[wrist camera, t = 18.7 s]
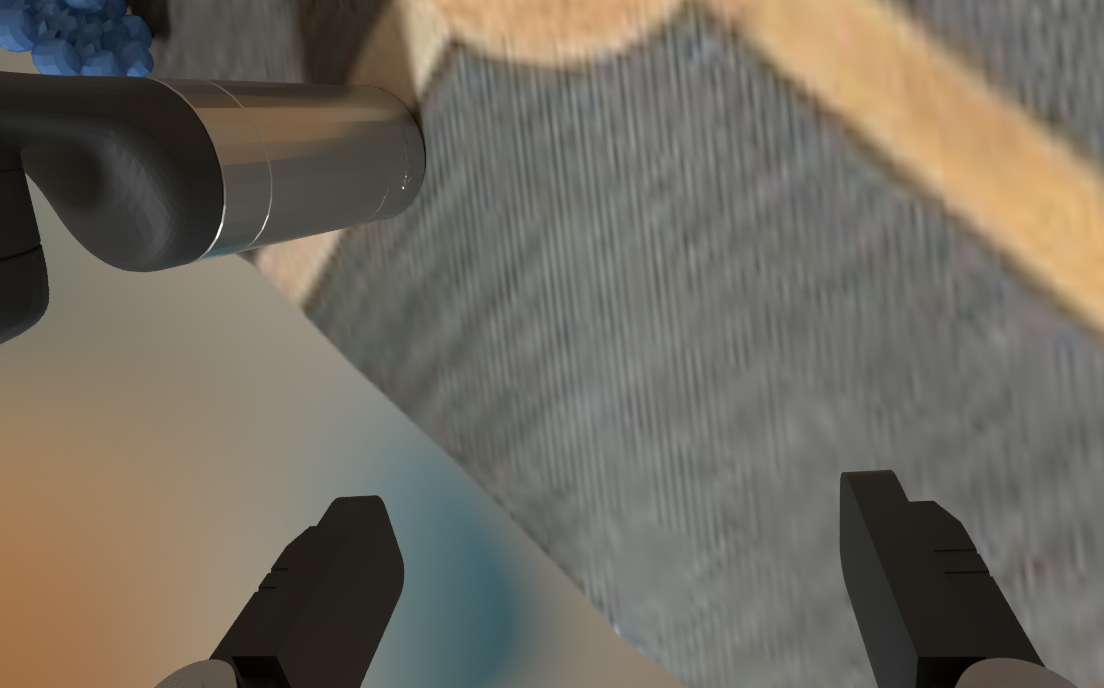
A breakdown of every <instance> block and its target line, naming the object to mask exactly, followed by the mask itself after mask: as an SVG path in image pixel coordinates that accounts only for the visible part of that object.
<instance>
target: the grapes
mask: <svg viewBox="0 0 1104 688" xmlns="http://www.w3.org/2000/svg"><path fill="white" fill-rule="evenodd" d="M126 13H127V9H126V4H125V1H124V0H0V46H1V47H3V48H4V49H6V50H9V51H12V52H26V51H30V50H32V52H31V56H32V60H33V64H34V65H35V67H36V68H37V69H38V71H39V72H40V73H41V74H47V75H67V76H78V75H79V74H80V72H82V75H83V76H130V77H145V76H147V75H148V74H150V73H151V71H152V69H153V66H154V63H153V58H152V55H151V54H150V52H149V50H148V48H150V46H151V43H152V41H153V38H152V33H151V30H150V28H149V27H148V25H147V24H146V22H145V21H144V20H143V19H142V18H141V17H140V16H135V15H126Z"/></svg>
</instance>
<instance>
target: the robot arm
mask: <svg viewBox="0 0 1104 688" xmlns="http://www.w3.org/2000/svg"><path fill="white" fill-rule="evenodd" d="M424 170H425V153H424V147H423V141H422V138H421V135H420V132H419V129H418V126H417V124H416V123H415V121H414V119H413V117H412V115H411V114H410V112H409V111H408V110H407V109H406V107H405V106H404V105H403V104H402V103H401V102H400V101H399V100H398V99H396V98H395V97H394V96H393V95H392V94H390V93H388V92H386V91H384V90H381V89H379V88H374V87H369V86H347V85H329V84H305V83H281V82H256V81H232V80H208V79H177V78H153V77H130V76H67V75H47V74H27V73H15V72H3V71H0V344H2V343H4V342H6V341H8V340H10V339H12V338H14V337H16V336H18V335H20V334H21V333H23V332H24V331H26V330H28V329H29V328H30V327H32V326H33V325H35V324H36V323H37V322H38V321H39V320H40V319H41V317H42V316H43V315H44V313H45V311H46V309H47V306H48V303H49V286H48V275H47V268H46V263H45V258H44V254H43V249H42V245H41V244H40V241H41V239H40V235H39V231H38V226H37V223H36V218H35V214H34V210H33V206H32V201H31V197H30V193H29V189H28V185H27V180H26V176H25V173H26V174H27V175H28V176H29V177H30V178H31V179H32V180H33V182H34V183H35V184H36V185H37V186H38V188H39V189H40V190H41V191H42V193H43V194H44V196H45V197H46V199H47V200H48V201H49V203H50V205H51V206H52V207H53V209H54V210H55V212H56V213H57V215H58V216H59V218H60V219H61V221H62V222H63V224H64V225H65V226H66V227H67V229H68V230H69V231H70V232H71V234H72V235H73V236H74V237H75V238H76V239H77V240H78V242H79V243H80V244H81V245H83V246H84V247H85V248H86V249H87V250H88V251H89V252H90V253H92V254H93V255H94V256H96V257H97V258H99V259H100V260H102V261H104V262H105V263H107V264H109V265H111V266H113V267H116V268H119V269H122V270H126V271H134V272H135V271H136V272H151V271H158V270H163V269H168V268H172V267H176V266H180V265H185V264H190V263H194V262H198V261H203V260H207V259H211V258H216V257H221V256H225V255H229V254H233V253H237V252H241V251H246V250H250V249H255V248H259V247H264V246H268V245H272V244H277V243H281V242H286V241H290V240H294V239H299V238H303V237H308V236H312V235H317V234H321V233H325V232H330V231H334V230H339V229H343V228H347V227H353V226H357V225H361V224H366V223H370V222H374V221H378V220H383V219H387V218H391V217H394V216H396V215H398V214H400V213H402V212H403V211H404V210H405V209H406V208H407V207H408V206H409V205H411V203H412V202H413V200H414V199H415V197H416V196H417V194H418V192H419V189H420V187H421V184H422V180H423V175H424ZM840 556H841V565H842V571H843V576H844V580H845V584H846V588H847V591H848V594H849V597H850V600H851V604H852V607H853V610H854V613H855V616H856V619H857V622H858V626H859V629H860V632H861V635H862V638H863V641H864V645H865V648H866V651H867V654H868V657H869V660H870V663H871V667H872V670H873V673H874V676H875V679H876V682H877V685H878V688H1077V687H1076V686H1075V685H1074V684H1072V683H1071V682H1070V681H1068V680H1067V679H1065V678H1064V677H1062V676H1060V675H1059V674H1057V673H1055V672H1053V671H1051V670H1049V669H1047V668H1046V667H1045V666H1044V664H1043V663H1042V661H1041V660H1040V658H1039V656H1038V654H1037V653H1036V651H1035V649H1034V647H1033V646H1032V644H1031V642H1030V641H1029V639H1028V637H1027V635H1026V634H1025V632H1024V630H1023V628H1022V627H1021V625H1020V623H1019V622H1018V620H1017V618H1016V616H1015V615H1014V613H1013V611H1012V609H1011V608H1010V606H1009V604H1008V603H1007V601H1006V599H1005V597H1004V596H1003V594H1002V592H1001V590H1000V589H999V587H998V585H997V584H996V582H995V580H994V578H993V577H990V574H989V570H988V568H987V566H986V565H985V563H984V561H983V559H982V558H981V556H980V554H977V550H976V547H975V545H974V544H973V542H972V540H971V539H970V537H969V535H968V533H967V532H966V530H965V528H964V526H963V525H962V523H961V522H960V521H959V520H957V519H956V518H955V517H954V516H952V515H951V514H950V513H948V512H947V511H946V510H945V509H943V508H942V507H941V506H940V505H938V504H937V503H936V502H935V501H916V502H909V501H908V499H907V497H906V495H905V493H904V491H903V489H902V487H901V485H900V483H899V481H898V479H897V477H896V475H895V473H894V472H893V471H892V470H880V471H860V472H843V473H842V474H841V478H840ZM403 583H404V563H403V559H402V555H401V552H400V550H399V546H398V544H397V540H396V537H395V535H394V532H393V528H392V525H391V522H390V519H389V516H388V513H387V510H386V508H385V505H384V502H383V501H382V499H381V498H380V497H378V496H376V495H375V496H355V497H339V498H336V499H335V500H334V501H333V502H332V503H331V505H330V506H329V508H328V509H327V511H326V512H325V514H324V516H323V517H322V518H321V520H320V521H319V523H318V525H317V526H310V527H309V528H308V529H306V530H305V531H304V532H303V533H302V534H300V535H299V536H298V537H297V538H296V539H294V541H292V542H291V543H290V544H289V545H287V546H286V548H285V549H284V551H283V552H282V554H281V555H280V556H279V558H278V559H277V561H276V563H275V564H274V565H273V567H272V568H271V573H268V574H267V575H266V577H265V578H264V580H263V581H262V583H261V584H260V585H259V590H258V592H255V593H254V594H253V596H252V597H251V599H250V600H249V602H248V603H247V604H246V606H245V607H244V609H243V610H242V612H241V613H240V615H239V616H238V617H237V619H236V620H235V622H234V623H233V625H232V626H231V628H230V629H229V630H228V632H227V633H226V635H225V636H224V638H223V639H222V641H221V642H220V644H219V645H218V647H217V648H216V649H215V651H214V652H213V654H212V655H211V657H210V658H209V660H203V661H199V662H195V663H192V664H190V665H187V666H185V667H183V668H181V669H179V670H177V671H175V672H174V673H172V674H171V675H169V676H168V677H166V678H165V679H164V680H162V681H161V682H160V683H159V684H158V685H157V686H156V687H154V688H360V686H361V684H362V681H363V679H364V677H365V675H366V672H367V670H368V668H369V665H370V663H371V661H372V659H373V656H374V654H375V652H376V650H377V647H378V645H379V642H380V640H381V638H382V636H383V633H384V631H385V629H386V627H387V624H388V622H389V620H390V618H391V615H392V613H393V611H394V609H395V606H396V604H397V601H398V599H399V597H400V595H401V592H402V588H403Z"/></svg>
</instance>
